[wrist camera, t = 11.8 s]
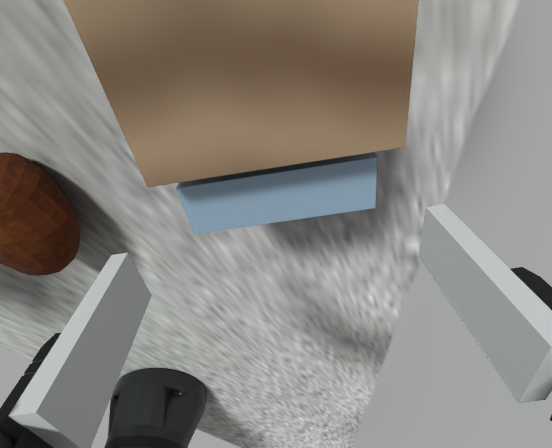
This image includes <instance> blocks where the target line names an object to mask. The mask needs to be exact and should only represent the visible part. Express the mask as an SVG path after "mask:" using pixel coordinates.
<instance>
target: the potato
mask: <svg viewBox="0 0 552 448" xmlns="http://www.w3.org/2000/svg"><path fill="white" fill-rule="evenodd" d="M79 240H80V231H79V224H78V220H77V216H76V214H75V212H74V210H73V208H72V207H71V205H70V203H69V202H68V200H67V199H66V197H65V196H64V195H63V193H62V192H61V190H60V189H59V188H58V186H57V185H56V184H55V183H54V181H53V180H52V179H51V178H50V177H49V176H48V175H47V174H46V173H45V172H44V171H43V170H42V169H41V168H40V167H39V166H37V165H36V164H34V163H33V162H32V161H30V160H29V159H27V158H25V157H23V156H20V155H18V154H14V153H6V152H5V153H0V263H1V264H3V265H6V266H8V267H10V268H13V269H15V270H17V271H19V272H21V273H25V274H28V275H37V276H38V275H49V274H53V273H56V272H60V271H61V270H62V269H64V268H65V267H66V266H67V265H68V264H69V263H70V262H71V261H72V260H73V259H74V258H75V256H76V254H77V252H78V247H79Z"/></svg>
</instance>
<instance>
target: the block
mask: <svg viewBox="0 0 552 448" xmlns="http://www.w3.org/2000/svg"><path fill="white" fill-rule="evenodd" d="M376 176H377V156H376V155H375V154H374V153H373V152H371V153H364V154H358V155H351V156H345V157H339V158H332V159H326V160H319V161H313V162H307V163H300V164H294V165H287V166H281V167H275V168H268V169H262V170H256V171H249V172H243V173H236V174H230V175H224V176H217V177H211V178H204V179H198V180H192V181H185V182H179V184H178V186H177V188H176V190H177V192H178V195H179V197H180V200H181V202H182V205H183V208H184V210H185V213H186V215H187V218H188V220H189V223H190V226H191V228H192V231H193V233H194V234H200V233H207V232H214V231H221V230H227V229H234V228H241V227H248V226H255V225H262V224H269V223H276V222H283V221H290V220H297V219H304V218H310V217H317V216H324V215H331V214H338V213H345V212H352V211H359V210H366V209H373V208H375V202H376Z"/></svg>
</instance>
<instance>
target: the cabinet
mask: <svg viewBox="0 0 552 448" xmlns="http://www.w3.org/2000/svg"><path fill="white" fill-rule="evenodd" d="M64 2H65V4H66V6H67V9H68V11H69V13H70V15H71V17H72V20H73V22H74V24H75V26H76V29H77V31H78V33H79V35H80V38H81V40H82V42H83V44H84V47H85V49H86V51H87V53H88V55H89V58H90V60H91V62H92V64H93V67H94V69H95V71H96V73H97V76H98V78H99V80H100V82H101V84H102V87H103V89H104V91H105V93H106V96H107V98H108V100H109V102H110V105H111V107H112V109H113V111H114V113H115V116H116V118H117V120H118V122H119V125H120V127H121V129H122V131H123V134H124V136H125V138H126V140H127V143H128V145H129V147H130V149H131V151H132V154H133V156H134V158H135V160H136V163H137V165H138V167H139V169H140V172H141V174H142V176H143V178H144V180H145V183H146V185H147V187H153V186H160V185H166V184H172V183H179V182H185V181H192V180H198V179H204V178H211V177H217V176H224V175H230V174H236V173H243V172H249V171H256V170H262V169H268V168H275V167H281V166H287V165H294V164H300V163H307V162H313V161H319V160H326V159H332V158H339V157H345V156H351V155H358V154H364V153H371V152H377V151H383V150H390V149H396V148H403V147H405V142H406V131H407V120H408V109H409V99H410V88H411V77H412V66H413V56H414V45H415V34H416V23H417V12H418V2H419V0H64Z"/></svg>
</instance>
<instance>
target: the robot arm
mask: <svg viewBox="0 0 552 448" xmlns="http://www.w3.org/2000/svg"><path fill="white" fill-rule="evenodd" d="M419 257H420V259H421V260H422V262H423V263H424V265H425V266H426V268H427V269H428V271H429V272H430V274H431V275H432V277H433V278H434V280H435V281H436V282H437V284H438V285H439V287H440V288H441V290H442V291H443V293H444V294H445V296H446V297H447V299H448V300H449V302H450V303H451V304H452V306H453V307H454V309H455V310H456V312H457V313H458V315H459V316H460V318H461V319H462V321H463V322H464V324H465V325H466V327H467V328H468V330H469V331H470V333H471V334H472V336H473V337H474V338H475V340H476V341H477V343H478V344H479V346H480V347H481V349H482V350H483V352H484V353H485V355H486V356H487V358H488V359H489V361H490V362H491V363H492V365H493V366H494V368H495V369H496V371H497V372H498V374H499V375H500V377H501V378H502V380H503V381H504V383H505V384H506V386H507V387H508V389H509V390H510V391H511V393H512V394H513V396H514V397H515V399H516V400H517V402H518V403H522V402H530V401H538V400H545V399H546V398H547V397H548V395H549V394H550V392H551V391H552V287H551V286H550V285H549V284H547V283H546V282H545V281H544V280H543V279H542V278H541V277H540V276H538V275H536V274H534V273H532V272H530V271H529V270H526V269H525V268H523V267H519V268H513V269H509V268H508V267H507V266H506V265H505V264H504V263H503V262H502V261H501V260H500V259H499V258H498V257H497V256H496V255H495V254H494V253H493V252H492V251H491V250H490V249H489V248H488V247H487V246H486V245H485V244H484V243H483V242H482V241H481V240H480V239H479V238H478V237H477V236H476V235H475V234H474V233H473V232H472V231H471V230H470V229H469V228H468V227H467V226H466V225H464V223H462V221H461V220H460V219H459V218H458V217H457V216H456V215H455V214H453V213H452V212H451V210H449V209H448V208H447V207H446V206H445V205H444V204H443V205H437V206H430V207H426V210H425V217H424V224H423V231H422V238H421V245H420V252H419ZM150 298H151V293H150V292H149V290H148V288H147V286H146V284H145V283H144V281H143V279H142V277H141V275H140V274H139V272H138V270H137V268H136V266H135V265H134V263H133V261H132V259H131V257H130V256H129V254H128V253H122V254H115V255H111V256H110V258H109V260H108V261H107V263H106V264H105V266H104V267H103V269H102V271H101V272H100V274H99V275H98V277H97V278H96V280H95V281H94V283H93V285H92V286H91V288H90V289H89V291H88V292H87V294H86V295H85V297H84V299H83V300H82V302H81V303H80V305H79V306H78V308H77V309H76V311H75V313H74V314H73V316H72V317H71V319H70V320H69V322H68V324H67V325H66V327H65V328H64V330H63V331H62V333H56V334H55V335H54V336H53V337H51V338H50V339H49V340H48V341H47V342H46V343H45V344H44V345H43V346H42V347H41V349H40V350H39V352H38V353H37V355H36V356H35V358H34V359H33V363H32V364H30V365H29V367H28V368H27V370H26V371H25V375H24V376H22V377H21V379H20V380H19V382H18V383H17V384H16V386H15V387H14V389H13V390H12V392H11V393H10V395H9V396H8V398H7V399H6V401H5V402H4V404H3V405H2V407H1V408H0V448H91V445H92V443H93V440H94V438H95V435H96V433H97V430H98V428H99V425H100V423H101V420H102V418H103V415H104V413H105V410H106V408H107V405H108V403H109V400H110V398H111V403H110V416H109V430H108V439H107V442H106V445H105V448H187V447H188V444H189V442H190V440H191V438H192V436H193V434H194V431H195V429H196V427H197V425H198V423H199V421H200V419H201V416H202V414H203V412H204V409H205V404H206V398H207V391H206V389H205V387H204V386H203V384H202V383H201V382H199V381H198V380H197V379H195V378H193V377H192V376H189V375H187V374H185V373H182V372H178V371H174V370H168V369H157V368H151V369H141V370H136V371H133V372H130V373H128V374H126V375H124V376H122V377H121V378H120V379H119V380H118V378H119V375H120V373H121V370H122V368H123V365H124V363H125V360H126V358H127V355H128V353H129V350H130V348H131V345H132V343H133V340H134V338H135V335H136V333H137V330H138V328H139V325H140V323H141V320H142V318H143V315H144V313H145V310H146V308H147V305H148V303H149V300H150ZM117 380H118V382H117ZM116 383H117V384H116ZM115 385H116V386H115ZM114 388H115V389H114ZM113 390H114V391H113ZM112 393H113V394H112ZM111 395H112V397H111ZM550 420H551V421H552V415H551V418H550Z"/></svg>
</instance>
